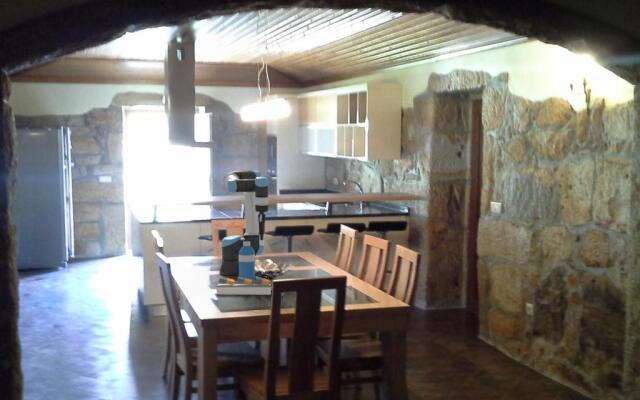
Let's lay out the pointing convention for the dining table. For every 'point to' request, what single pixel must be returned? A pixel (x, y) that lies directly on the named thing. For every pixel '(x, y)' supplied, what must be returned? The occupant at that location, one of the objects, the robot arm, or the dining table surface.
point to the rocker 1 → (226, 280)
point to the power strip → (244, 288)
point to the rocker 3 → (262, 280)
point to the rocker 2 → (244, 280)
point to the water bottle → (247, 261)
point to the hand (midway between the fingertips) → (261, 245)
